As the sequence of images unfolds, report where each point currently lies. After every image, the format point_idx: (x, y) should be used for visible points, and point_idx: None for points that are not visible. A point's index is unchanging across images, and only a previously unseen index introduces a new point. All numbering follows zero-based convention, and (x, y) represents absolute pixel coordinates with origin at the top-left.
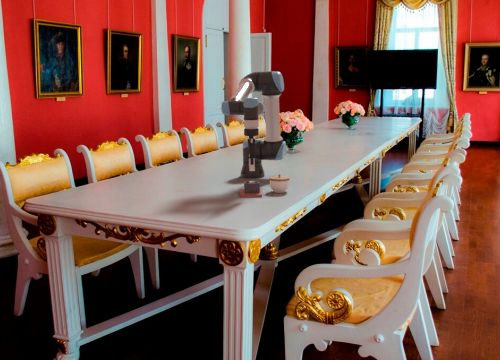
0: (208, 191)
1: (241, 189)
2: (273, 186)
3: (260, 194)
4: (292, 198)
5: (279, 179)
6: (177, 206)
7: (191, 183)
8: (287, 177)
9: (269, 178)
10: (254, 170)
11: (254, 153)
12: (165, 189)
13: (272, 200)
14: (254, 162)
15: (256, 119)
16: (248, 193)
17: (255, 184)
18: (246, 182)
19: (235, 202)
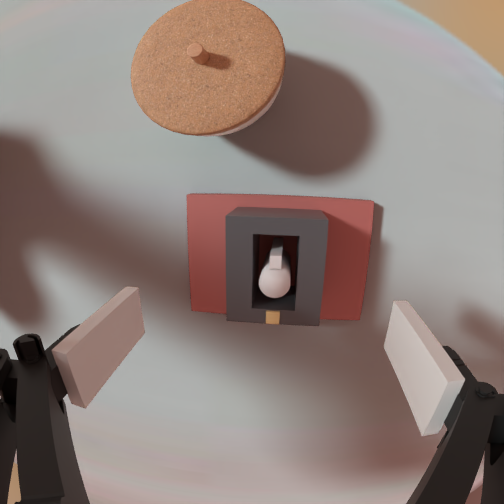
0: (201, 422)
1: (206, 307)
2: (263, 114)
3: (367, 210)
4: (414, 50)
5: (283, 60)
6: (423, 469)
7: (76, 431)
8: (218, 5)
9: (204, 134)
10: (408, 305)
11: (36, 346)
12: (175, 493)
13: (454, 158)
14: (442, 349)
15: None
16: (328, 278)
17: (325, 250)
18: (274, 310)
19: (450, 333)
